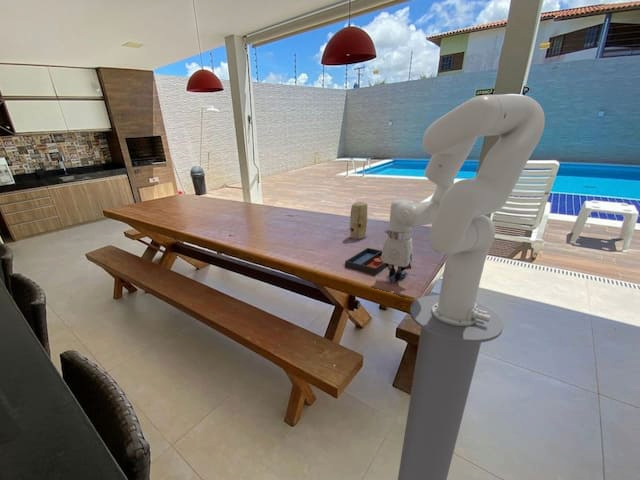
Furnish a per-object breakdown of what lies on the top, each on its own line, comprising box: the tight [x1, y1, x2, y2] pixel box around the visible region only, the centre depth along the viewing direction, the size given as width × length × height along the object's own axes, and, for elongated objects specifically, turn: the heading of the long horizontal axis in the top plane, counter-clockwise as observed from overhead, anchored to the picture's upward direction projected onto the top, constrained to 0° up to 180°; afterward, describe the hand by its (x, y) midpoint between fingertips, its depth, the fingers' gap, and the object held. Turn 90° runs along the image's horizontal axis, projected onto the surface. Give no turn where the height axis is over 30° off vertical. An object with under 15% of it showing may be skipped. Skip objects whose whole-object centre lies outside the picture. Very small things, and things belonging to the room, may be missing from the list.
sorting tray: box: [344, 247, 388, 276], centre depth 134 cm, size 14×20×3 cm
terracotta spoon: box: [374, 256, 382, 265], centre depth 134 cm, size 4×11×3 cm, turn 138°
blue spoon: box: [388, 269, 407, 285], centre depth 119 cm, size 4×11×3 cm, turn 138°
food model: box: [349, 201, 368, 240], centre depth 161 cm, size 10×7×20 cm
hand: (394, 279), depth 118 cm, fingers closed on blue spoon, 1 cm apart
